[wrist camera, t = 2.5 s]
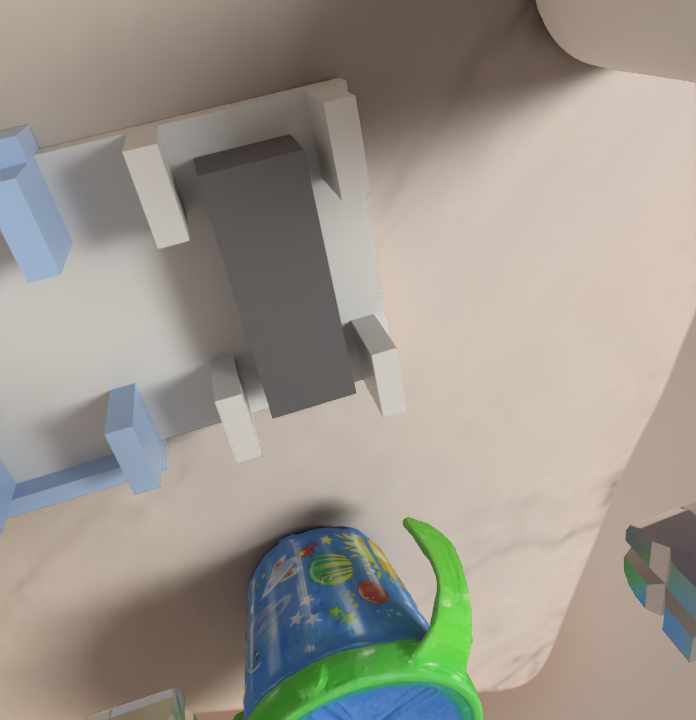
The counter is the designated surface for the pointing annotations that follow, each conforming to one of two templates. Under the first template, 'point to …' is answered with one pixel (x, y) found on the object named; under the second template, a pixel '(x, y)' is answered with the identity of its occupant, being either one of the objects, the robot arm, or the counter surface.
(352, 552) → the snack cup
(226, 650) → the counter surface
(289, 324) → the long gray rectangular prism
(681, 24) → the milk bottle
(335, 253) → the pegged tray
